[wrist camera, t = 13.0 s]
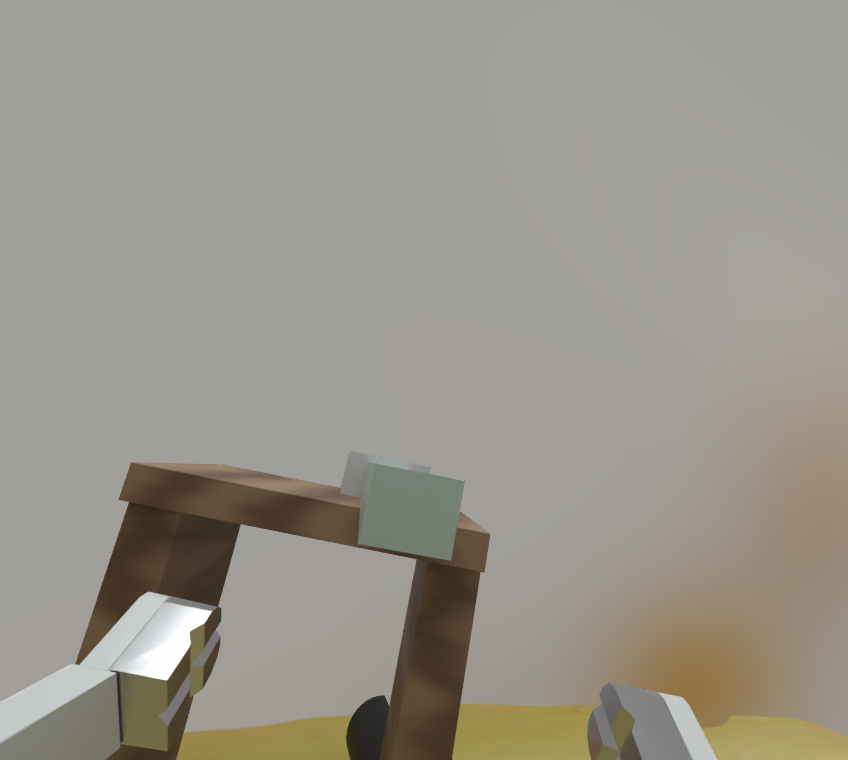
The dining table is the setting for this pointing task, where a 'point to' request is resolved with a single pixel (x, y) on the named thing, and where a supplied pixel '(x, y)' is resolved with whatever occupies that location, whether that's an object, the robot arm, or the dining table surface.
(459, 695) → the shelf
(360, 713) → the end cap
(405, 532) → the pale green bar
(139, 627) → the robot arm
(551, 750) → the dining table surface
